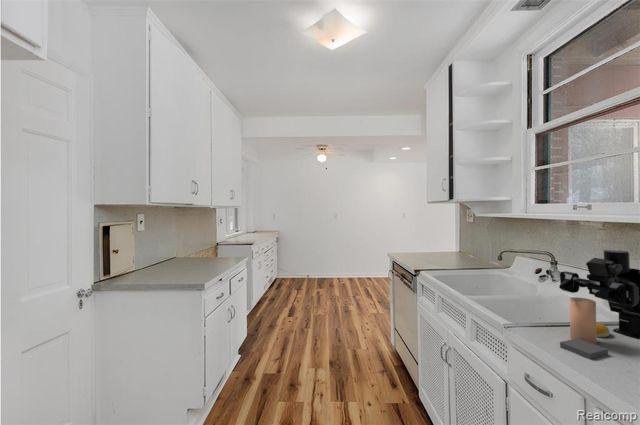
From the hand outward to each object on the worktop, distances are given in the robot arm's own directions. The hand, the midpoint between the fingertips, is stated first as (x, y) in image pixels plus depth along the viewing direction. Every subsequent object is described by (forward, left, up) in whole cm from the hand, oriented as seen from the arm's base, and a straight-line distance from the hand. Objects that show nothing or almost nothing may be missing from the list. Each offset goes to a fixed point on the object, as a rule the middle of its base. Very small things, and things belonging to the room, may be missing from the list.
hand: (576, 290), depth 87 cm
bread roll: (-15, -5, -17) cm, 23 cm away
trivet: (+2, +3, -17) cm, 17 cm away
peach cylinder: (-6, -2, -17) cm, 18 cm away
